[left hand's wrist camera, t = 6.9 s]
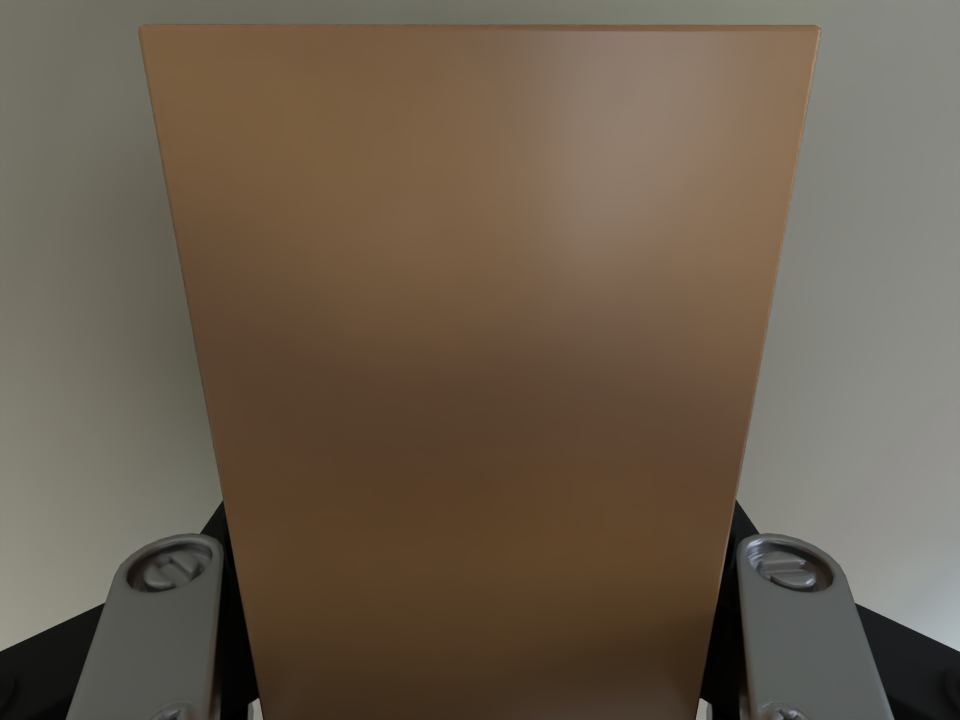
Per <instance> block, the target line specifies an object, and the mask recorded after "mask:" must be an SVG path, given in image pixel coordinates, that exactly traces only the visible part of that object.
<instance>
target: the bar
mask: <svg viewBox="0 0 960 720" xmlns="http://www.w3.org/2000/svg"><path fill="white" fill-rule="evenodd" d="M138 33H139V39H140V44H141V50H142V55H143V61H144V66H145V72H146V77H147V83H148V88H149V94H150V99H151V105H152V110H153V116H154V121H155V127H156V132H157V138H158V143H159V149H160V154H161V160H162V165H163V171H164V176H165V182H166V187H167V193H168V198H169V204H170V209H171V215H172V220H173V226H174V231H175V237H176V242H177V248H178V253H179V259H180V264H181V270H182V275H183V281H184V286H185V292H186V297H187V303H188V308H189V314H190V319H191V325H192V330H193V336H194V341H195V347H196V352H197V358H198V363H199V369H200V374H201V380H202V385H203V391H204V396H205V402H206V407H207V413H208V418H209V424H210V429H211V435H212V440H213V446H214V451H215V457H216V462H217V468H218V473H219V479H220V484H221V490H222V495H223V501H224V506H225V512H226V517H227V523H228V528H229V534H230V539H231V545H232V550H233V556H234V561H235V567H236V572H237V578H238V583H239V589H240V594H241V600H242V605H243V611H244V616H245V622H246V627H247V633H248V638H249V644H250V649H251V655H252V660H253V666H254V671H255V677H256V682H257V688H258V693H259V699H260V705H261V710H262V716H263V720H696V715H697V709H698V704H699V698H700V693H701V687H702V682H703V677H704V671H705V666H706V660H707V655H708V649H709V644H710V638H711V633H712V627H713V622H714V616H715V611H716V605H717V600H718V594H719V589H720V583H721V578H722V573H723V567H724V562H725V556H726V551H727V545H728V540H729V534H730V529H731V523H732V518H733V512H734V507H735V501H736V496H737V490H738V485H739V480H740V474H741V469H742V463H743V458H744V452H745V447H746V441H747V436H748V430H749V425H750V419H751V414H752V408H753V403H754V397H755V392H756V387H757V381H758V376H759V370H760V365H761V359H762V354H763V348H764V343H765V337H766V332H767V326H768V321H769V315H770V310H771V304H772V299H773V294H774V288H775V283H776V277H777V272H778V266H779V261H780V255H781V250H782V244H783V239H784V233H785V228H786V222H787V217H788V211H789V206H790V201H791V195H792V190H793V184H794V179H795V173H796V168H797V162H798V157H799V151H800V146H801V140H802V135H803V129H804V124H805V118H806V113H807V108H808V102H809V97H810V91H811V86H812V80H813V75H814V69H815V64H816V58H817V53H818V47H819V42H820V36H821V28H820V27H818V26H816V25H143V26H141V27H139V31H138Z"/></svg>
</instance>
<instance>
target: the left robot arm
mask: <svg viewBox="0 0 960 720" xmlns="http://www.w3.org/2000/svg"><path fill="white" fill-rule="evenodd" d="M257 698H259V693H258V688H257V682H256V677H255V671H254V666H253V660H252V655H251V649H250V644H249V638H248V633H247V627H246V622H245V616H244V611H243V605H242V600H241V594H240V589H239V583H238V578H237V572H236V567H235V561H234V556H233V550H232V545H231V539H230V534H229V528H228V523H227V517H226V512H225V506H224V501H222V502H221V504H220V505H219V507H218V508H217V510H216V511H215V513H214V514H213V516H212V517H211V518H210V520H209V521H208V523H207V524H206V526H205V527H204V529H203V530H202V532H201V533H200V534H195V533H190V534H180V535H174V536H170V537H167V538H163V539H160V540H157V541H155V542H153V543H150V544H148V545H146V546H144V547H142V548H141V549H139V550H138V551H136V552H135V553H133V554H132V555H130V556H129V557H128V558H127V559H126V560H125V561H124V562H123V563H122V564H121V565H120V567H119V569H118V570H117V572H116V574H115V575H114V578H113V581H112V584H111V587H110V590H109V593H108V596H107V599H106V602H105V603H103V604H101V605H99V606H97V607H95V608H93V609H91V610H88V611H86V612H84V613H82V614H80V615H78V616H76V617H73V618H71V619H69V620H67V621H65V622H63V623H61V624H58V625H56V626H54V627H52V628H50V629H48V630H46V631H43V632H41V633H39V634H37V635H35V636H33V637H31V638H28V639H26V640H24V641H22V642H20V643H18V644H16V645H13V646H11V647H9V648H7V649H5V650H3V651H1V652H0V720H253V716H254V711H253V706H252V702H253V701H254V700H256V699H257ZM700 698H702V699H704V700H705V701H707V702H708V706H707V711H706V716H707V720H960V652H959V651H957V650H955V649H953V648H951V647H948V646H946V645H944V644H942V643H940V642H938V641H936V640H933V639H931V638H929V637H927V636H925V635H923V634H921V633H918V632H916V631H914V630H912V629H910V628H908V627H906V626H903V625H901V624H899V623H897V622H895V621H893V620H891V619H888V618H886V617H884V616H882V615H880V614H878V613H876V612H873V611H871V610H869V609H867V608H865V607H863V606H861V605H858V604H856V603H855V602H854V599H853V596H852V593H851V590H850V587H849V584H848V581H847V578H846V575H845V574H844V572H843V570H842V569H841V567H840V565H839V564H838V563H837V562H836V561H835V560H834V559H833V558H832V557H831V556H830V555H828V554H827V553H825V552H824V551H822V550H821V549H819V548H818V547H816V546H814V545H812V544H810V543H807V542H805V541H803V540H800V539H797V538H793V537H790V536H786V535H780V534H770V533H765V534H759V532H758V531H757V529H756V528H755V526H754V525H753V523H752V522H751V521H750V519H749V518H748V516H747V515H746V513H745V512H744V510H743V509H742V507H741V506H740V505H739V503H738V502H737V500H736V501H735V507H734V512H733V518H732V523H731V529H730V534H729V540H728V545H727V551H726V556H725V562H724V567H723V573H722V578H721V583H720V589H719V594H718V600H717V605H716V611H715V616H714V622H713V627H712V633H711V638H710V644H709V649H708V655H707V660H706V666H705V671H704V677H703V682H702V687H701V693H700Z"/></svg>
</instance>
